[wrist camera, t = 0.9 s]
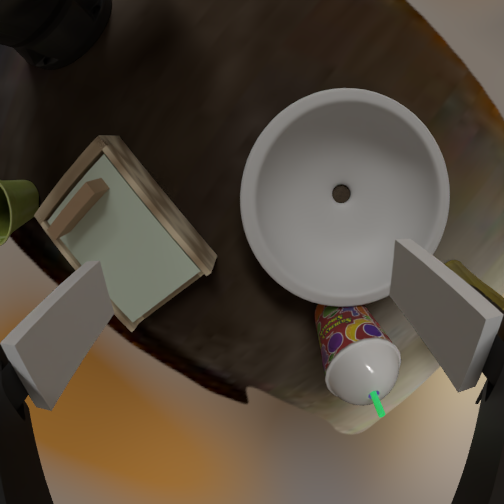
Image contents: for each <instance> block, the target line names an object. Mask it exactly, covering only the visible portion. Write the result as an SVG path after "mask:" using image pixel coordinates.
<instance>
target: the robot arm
mask: <svg viewBox="0 0 504 504" xmlns="http://www.w3.org/2000/svg"><path fill="white" fill-rule="evenodd" d="M111 4H112V2H111V0H0V44H1V45H6V46H9V47H13V48H14V49H15V50H16V51H17V52H18V53H19V54H20V55H21V56H22V57H23V58H24V59H25V60H26V61H27V62H28V63H29V64H31V65H33V66H35V67H39V68H43V69H48V70H52V69H58V68H61V67H64V66H66V65H68V64H70V63H72V62H74V61H75V60H77V59H78V58H79V57H81V56H82V55H83V54H84V53H85V52H86V51H87V50H88V49H89V48H90V47H91V46H92V45H93V44H94V43H95V42H96V40H97V39H98V38H99V36H100V35H101V33H102V31H103V30H104V28H105V26H106V24H107V21H108V19H109V16H110V12H111ZM389 296H390V297H391V298H392V300H393V301H394V302H395V303H396V305H397V306H398V307H399V309H400V310H401V311H402V313H403V314H404V315H405V317H406V318H407V319H408V321H409V322H410V323H411V325H412V326H413V328H414V329H415V330H416V332H417V333H418V334H419V336H420V337H421V339H422V340H423V341H424V343H425V344H426V346H427V347H428V348H429V350H430V351H431V353H432V354H433V356H434V357H435V358H436V360H437V361H438V363H439V364H440V366H441V367H442V369H443V370H444V372H445V373H446V375H447V376H448V378H449V379H450V381H451V382H452V384H453V385H454V387H455V388H456V390H457V391H458V392H461V391H464V390H467V389H469V388H472V387H475V386H476V384H477V382H478V380H479V378H480V375H481V373H482V372H483V374H484V375H485V376H486V378H487V380H486V382H485V385H484V387H483V389H482V391H481V393H480V395H479V397H478V398H477V401H476V404H478V403H479V401H480V400H481V403H480V409H479V414H478V418H477V423H476V428H475V431H474V435H473V439H472V443H471V447H470V450H469V454H468V458H467V461H466V464H465V467H464V470H463V473H462V476H461V479H460V482H459V485H458V488H457V490H456V493H455V496H454V498H453V501H452V503H451V504H504V310H503V309H502V308H500V307H499V306H498V305H497V304H496V303H495V302H492V300H491V299H490V298H489V297H488V296H486V295H485V294H484V293H483V292H482V291H481V290H479V289H478V288H477V287H475V286H473V285H471V284H468V283H467V282H465V281H464V280H463V279H462V278H461V277H459V276H458V275H457V274H456V273H454V272H453V271H452V270H451V269H449V268H448V267H447V266H446V265H444V264H443V263H442V262H441V261H439V260H438V259H437V258H435V257H434V256H433V255H431V254H430V253H429V252H427V251H426V250H425V249H423V248H422V247H421V246H419V245H418V244H417V243H415V242H414V241H413V240H411V239H410V238H408V239H395V246H394V258H393V268H392V277H391V285H390V293H389ZM113 314H114V310H113V306H112V303H111V300H110V296H109V293H108V289H107V286H106V282H105V278H104V275H103V271H102V267H101V263H100V261H87V262H85V263H84V264H83V265H82V266H81V267H80V268H78V269H77V270H76V271H75V272H74V273H73V274H72V275H70V276H69V277H68V278H67V279H66V280H65V281H64V282H63V283H61V284H60V285H59V286H58V287H57V288H56V289H55V290H54V291H53V292H52V293H50V294H49V295H48V296H47V297H46V298H45V299H44V300H43V301H42V302H41V303H40V304H39V305H38V306H37V307H36V308H34V309H33V310H32V311H31V312H30V313H29V314H28V316H26V317H25V318H24V319H23V320H22V321H21V322H20V323H19V324H18V325H17V326H16V327H15V328H14V329H13V330H12V331H11V332H10V333H9V334H8V335H7V336H6V338H4V340H3V341H2V342H1V343H0V504H53V501H52V498H51V495H50V493H49V489H48V486H47V483H46V480H45V476H44V473H43V470H42V466H41V463H40V458H39V455H38V451H37V446H36V442H35V438H34V433H33V428H32V423H31V418H30V412H29V408H28V406H27V404H26V402H25V401H24V400H25V399H26V397H27V396H28V395H29V396H30V398H31V399H32V401H33V403H34V404H35V406H36V407H39V408H43V409H47V410H52V409H53V407H54V406H55V404H56V402H57V400H58V399H59V397H60V395H61V394H62V392H63V390H64V389H65V387H66V385H67V384H68V382H69V381H70V379H71V378H72V376H73V374H74V373H75V371H76V370H77V368H78V367H79V365H80V364H81V362H82V360H83V359H84V357H85V356H86V354H87V353H88V351H89V350H90V348H91V347H92V345H93V344H94V342H95V341H96V339H97V338H98V336H99V335H100V333H101V332H102V330H103V329H104V327H105V326H106V325H107V323H108V322H109V320H110V319H111V317H112V316H113Z"/></svg>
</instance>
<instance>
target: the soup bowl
mask: <svg viewBox="0 0 504 504" xmlns="http://www.w3.org/2000/svg"><path fill="white" fill-rule="evenodd" d="M339 184H344V185H346V186H347V187H348V188H349V189H350V193H351V195H350V198H349V200H348V201H347V202H345V203H337V202H336V201H334V199H333V197H332V191H333V189H334V187H335V186H337V185H339ZM449 201H450V190H449V179H448V173H447V169H446V165H445V162H444V159H443V156H442V153H441V151H440V149H439V147H438V145H437V143H436V141H435V139H434V137H433V136H432V134H431V133H430V132H429V130H428V129H427V127H426V126H425V125H424V124H423V123H422V122H421V120H420V119H419V118H417V117H416V116H415V115H414V114H413V113H412V112H411V111H410V110H408V109H407V108H406V107H404V106H403V105H401V104H400V103H398V102H397V101H395V100H393V99H391V98H389V97H387V96H384V95H381V94H379V93H376V92H372V91H368V90H362V89H355V88H339V89H330V90H325V91H321V92H317V93H314V94H311V95H309V96H306V97H304V98H302V99H300V100H298V101H296V102H295V103H293V104H291V105H290V106H288V107H287V108H285V109H284V110H283V111H281V112H280V113H279V114H278V115H277V116H276V117H275V118H274V119H273V120H272V121H271V122H270V123H269V124H268V125H267V126H266V128H265V129H264V130H263V132H262V133H261V134H260V136H259V137H258V139H257V140H256V142H255V144H254V146H253V148H252V150H251V152H250V154H249V157H248V159H247V162H246V165H245V168H244V172H243V176H242V181H241V190H240V209H241V218H242V223H243V228H244V231H245V234H246V238H247V240H248V243H249V245H250V247H251V249H252V251H253V253H254V255H255V257H256V258H257V260H258V261H259V263H260V264H261V266H262V267H263V268H264V269H265V271H266V272H267V273H268V274H269V275H270V276H271V277H272V278H273V279H274V280H275V281H276V282H277V283H278V284H280V285H281V286H282V287H283V288H285V289H286V290H288V291H289V292H291V293H293V294H294V295H296V296H298V297H300V298H302V299H305V300H308V301H310V302H313V303H317V304H321V305H327V306H335V307H351V306H359V305H364V304H368V303H372V302H375V301H378V300H380V299H383V298H385V297H387V296H389V293H390V285H391V277H392V268H393V258H394V246H395V239H408V238H410V239H411V240H413V241H414V242H415V243H417V244H418V245H419V246H421V247H422V248H423V249H425V250H426V251H427V252H429V253H430V254H431V255H433V254H434V252H435V250H436V249H437V247H438V245H439V243H440V240H441V238H442V235H443V232H444V229H445V226H446V222H447V218H448V212H449Z"/></svg>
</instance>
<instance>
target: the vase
mask: <svg viewBox="0 0 504 504" xmlns="http://www.w3.org/2000/svg"><path fill="white" fill-rule="evenodd" d="M444 265H446V266H447V267H448V268H449V269H451V270H452V271H453V272H454V273H456V274H457V275H458V276H459V277H461V278H462V279H463V280H464V281H465V282H467V283H468V284H471V285H473V286H475V287H477V288H478V289H479V290H481V291H482V292H483V293H484V294H485V295H486V296H488V297H489V298H490V299H491V300H492V302H495V303H496V304H497V305H498V306H499V307H500V308H502V309H503V310H504V298H503V297H502V296H501V295H499V294H498V293H497V292H496V291H494V290H493V289H492V288H490V287H489V286H488V285H486V284H485V283H483V282H482V281H481V280H480V279H479V278H477V277H476V276H475V275H474V274H472V273H471V272H470V271H469V270H468V269H467V268H466V267H465V266H463V264H462V263H461V262H459V261H457V260H451V261H449V262H447V263H445V264H444Z"/></svg>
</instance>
